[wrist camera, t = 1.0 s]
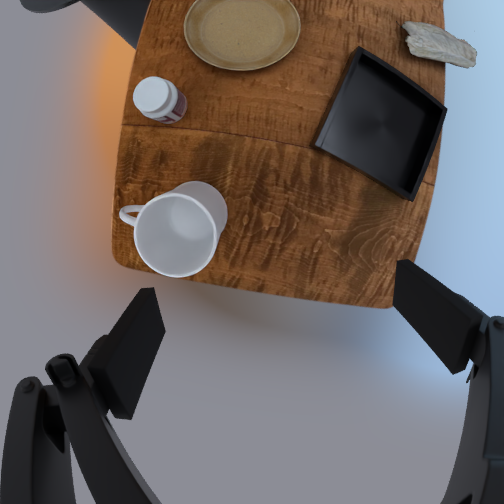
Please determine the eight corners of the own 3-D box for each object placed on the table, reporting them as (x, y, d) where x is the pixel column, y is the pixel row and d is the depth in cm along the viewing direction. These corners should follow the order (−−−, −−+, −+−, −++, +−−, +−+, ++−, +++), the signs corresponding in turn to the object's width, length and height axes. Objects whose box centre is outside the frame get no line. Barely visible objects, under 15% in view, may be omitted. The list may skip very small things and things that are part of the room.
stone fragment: (473, 27, 25) (489, 25, 21) (484, 69, 29) (501, 70, 25) (387, 22, 29) (400, 16, 24) (402, 69, 33) (416, 68, 28)
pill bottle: (174, 83, 32) (156, 64, 24) (195, 108, 33) (181, 94, 25) (146, 106, 32) (121, 93, 24) (166, 131, 34) (145, 124, 26)
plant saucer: (305, 71, 32) (310, 65, 29) (193, 84, 32) (189, 79, 29) (287, -12, 27) (289, -21, 25) (183, 0, 27) (180, -8, 25)
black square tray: (309, 146, 35) (314, 144, 32) (351, 52, 31) (358, 45, 28) (402, 198, 37) (413, 202, 34) (436, 110, 33) (447, 108, 30)
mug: (135, 225, 37) (95, 252, 26) (152, 165, 35) (114, 169, 24) (215, 253, 39) (204, 292, 27) (236, 193, 36) (233, 208, 25)
